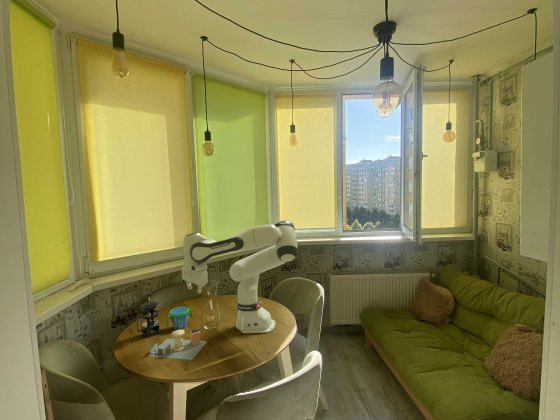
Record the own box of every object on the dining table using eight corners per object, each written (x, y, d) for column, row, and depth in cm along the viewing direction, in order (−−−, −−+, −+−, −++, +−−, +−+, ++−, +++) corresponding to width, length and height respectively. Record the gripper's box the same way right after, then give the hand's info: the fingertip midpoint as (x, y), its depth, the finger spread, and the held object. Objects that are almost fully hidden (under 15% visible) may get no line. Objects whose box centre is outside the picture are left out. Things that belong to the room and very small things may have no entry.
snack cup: (170, 336, 152) (169, 317, 151) (162, 329, 160) (161, 311, 159) (197, 326, 162) (196, 308, 162) (188, 320, 170) (188, 303, 170)
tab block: (198, 340, 144) (198, 326, 144) (200, 343, 141) (200, 329, 140) (190, 342, 142) (190, 328, 142) (192, 346, 139) (192, 332, 138)
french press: (163, 329, 159) (161, 289, 158) (160, 337, 150) (158, 295, 149) (140, 332, 157) (138, 291, 155) (136, 341, 147) (133, 297, 146)
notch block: (170, 350, 136) (170, 344, 136) (164, 356, 131) (164, 349, 131) (155, 348, 137) (155, 342, 137) (149, 354, 132) (148, 348, 132)
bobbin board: (207, 343, 143) (206, 326, 143) (191, 362, 127) (191, 343, 127) (167, 340, 147) (166, 323, 147) (148, 358, 131) (147, 339, 131)
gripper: (178, 262, 150) (179, 288, 151) (197, 268, 136) (199, 296, 137) (189, 260, 155) (190, 285, 156) (209, 266, 141) (210, 293, 141)
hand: (194, 290), depth 146 cm, fingers open, 8 cm apart
